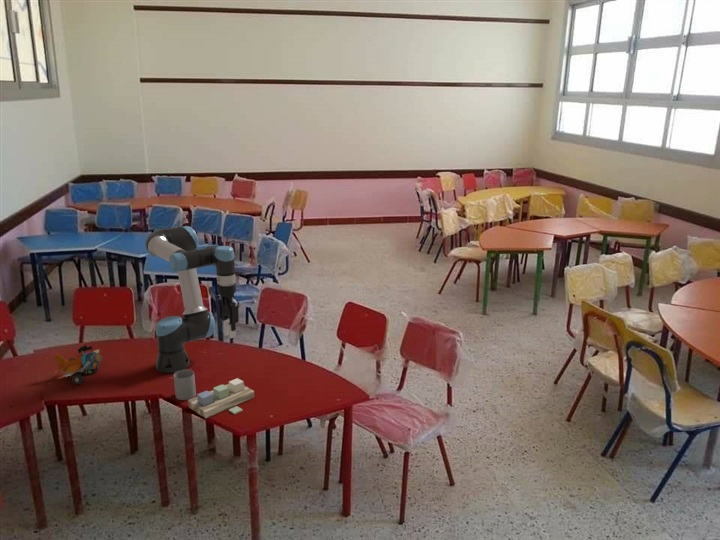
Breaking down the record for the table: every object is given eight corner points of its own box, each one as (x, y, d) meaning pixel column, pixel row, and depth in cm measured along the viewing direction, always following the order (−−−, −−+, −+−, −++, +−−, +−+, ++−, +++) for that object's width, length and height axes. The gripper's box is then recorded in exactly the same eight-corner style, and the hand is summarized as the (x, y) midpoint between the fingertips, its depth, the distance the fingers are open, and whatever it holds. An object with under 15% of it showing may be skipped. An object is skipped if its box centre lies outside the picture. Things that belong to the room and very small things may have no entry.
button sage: (213, 397, 241) (213, 387, 240) (223, 393, 245) (222, 384, 243) (219, 401, 238) (219, 391, 237) (229, 397, 242) (228, 387, 240)
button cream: (229, 391, 247) (228, 381, 245) (238, 387, 250) (237, 378, 248) (235, 394, 244) (234, 385, 242) (244, 391, 247) (243, 381, 245)
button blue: (197, 404, 236) (197, 394, 235) (207, 400, 239) (206, 390, 238) (203, 408, 233) (203, 398, 232) (213, 404, 236) (212, 394, 235)
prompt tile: (228, 410, 235) (228, 409, 235) (237, 407, 238) (236, 405, 238) (234, 414, 233) (234, 413, 233) (242, 410, 236) (242, 409, 235)
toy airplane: (90, 388, 246) (75, 357, 242) (45, 399, 250) (30, 369, 247) (126, 358, 273) (113, 329, 270) (85, 368, 278) (72, 340, 275)
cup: (199, 394, 248) (197, 373, 245) (182, 402, 242) (180, 380, 239) (188, 388, 253) (186, 367, 250) (171, 395, 247) (169, 374, 244)
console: (188, 406, 238) (187, 400, 237) (236, 386, 255) (236, 380, 254) (205, 418, 230) (205, 412, 229) (254, 397, 246) (254, 391, 245)
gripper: (207, 281, 243) (211, 333, 250) (230, 290, 232) (233, 344, 239) (223, 277, 248) (226, 328, 255) (245, 285, 237) (248, 338, 244)
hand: (230, 335), depth 247 cm, fingers open, 3 cm apart
